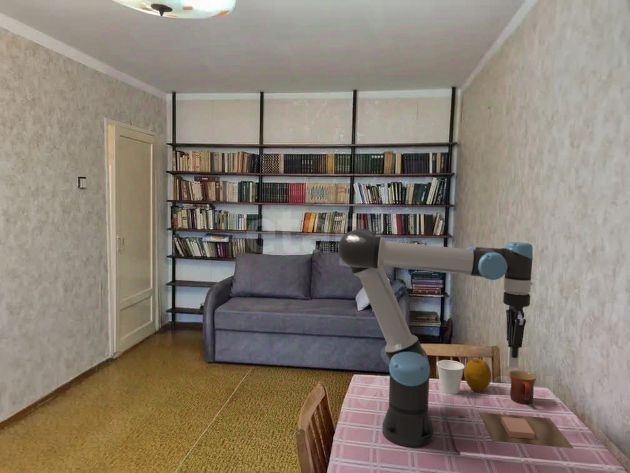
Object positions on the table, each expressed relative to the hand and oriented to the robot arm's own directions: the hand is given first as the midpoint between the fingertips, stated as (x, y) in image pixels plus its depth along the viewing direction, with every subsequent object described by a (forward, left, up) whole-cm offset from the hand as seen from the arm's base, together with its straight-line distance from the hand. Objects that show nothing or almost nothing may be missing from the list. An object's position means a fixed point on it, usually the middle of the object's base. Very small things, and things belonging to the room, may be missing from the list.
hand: (512, 366), depth 137 cm
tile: (+1, -1, -17) cm, 17 cm away
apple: (-4, +27, -19) cm, 34 cm away
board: (+3, -4, -19) cm, 20 cm away
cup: (-15, +21, -19) cm, 33 cm away
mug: (+9, +16, -19) cm, 27 cm away
